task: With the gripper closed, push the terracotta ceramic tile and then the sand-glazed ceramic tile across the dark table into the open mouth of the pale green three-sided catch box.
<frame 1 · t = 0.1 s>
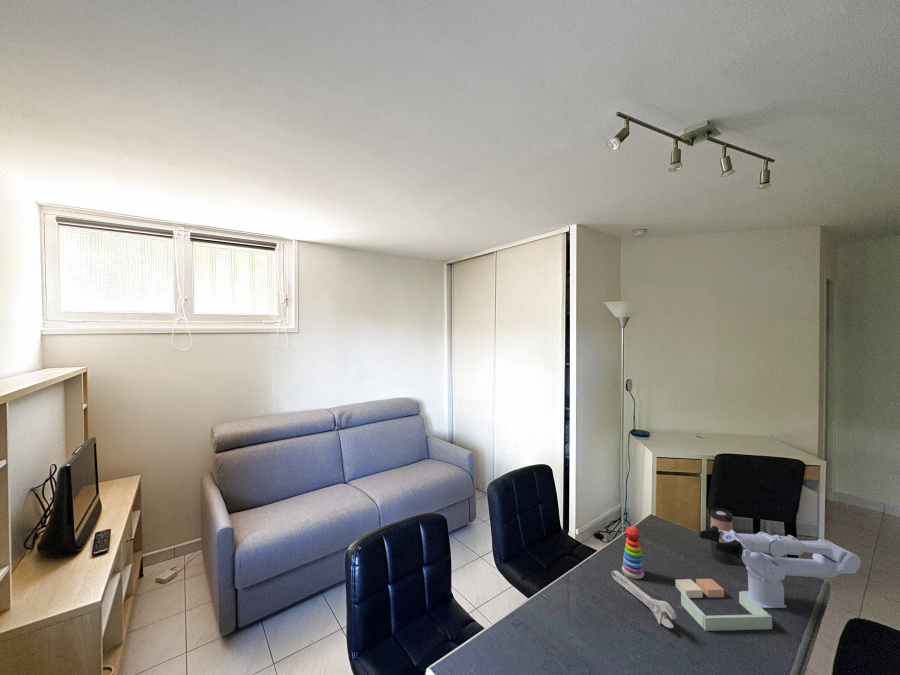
hand: (707, 540, 127), 22 cm above the table, tool horizontal, fingers open, 7 cm apart
travel mug: (722, 559, 151), on the table
catch box: (724, 615, 120), on the table
sand tile: (688, 592, 131), on the table
terracotta tile: (709, 592, 131), on the table
wrench: (640, 604, 126), on the table
stacking toy: (632, 573, 142), on the table
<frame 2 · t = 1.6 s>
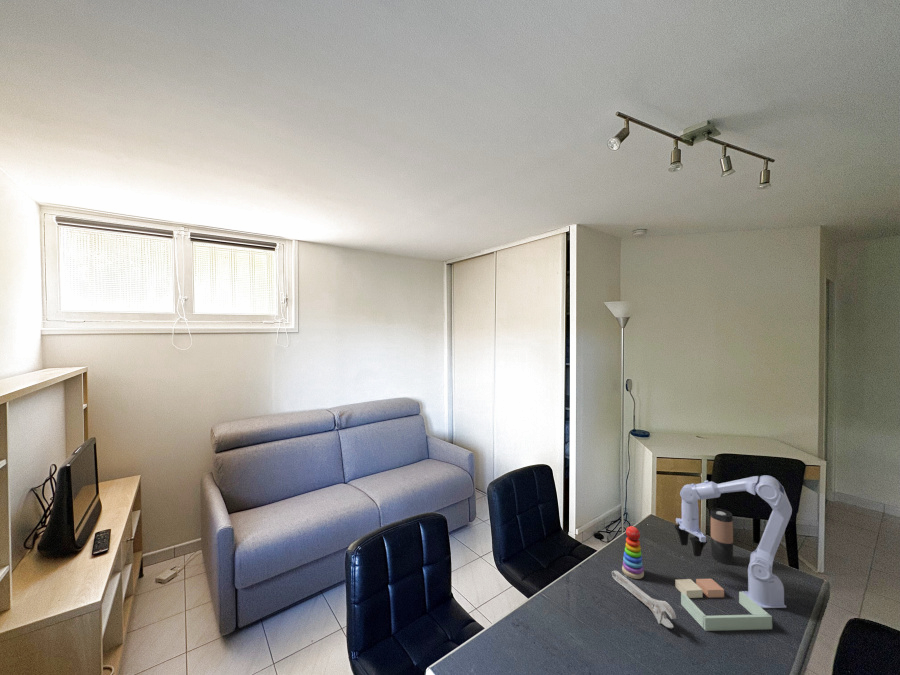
hand: (690, 550, 141), 9 cm above the table, tool pointing down, fingers open, 7 cm apart
nothing on the table moved.
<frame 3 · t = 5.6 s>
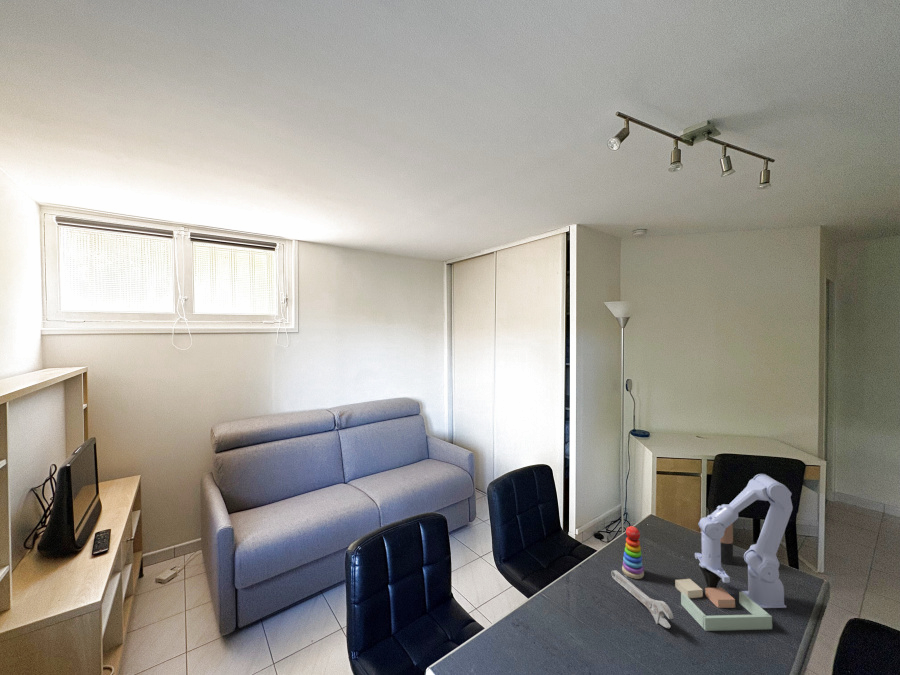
hand: (711, 589, 130), 1 cm above the table, tool pointing down, fingers closed
terracotta tile: (720, 601, 126), on the table
everything else where it was.
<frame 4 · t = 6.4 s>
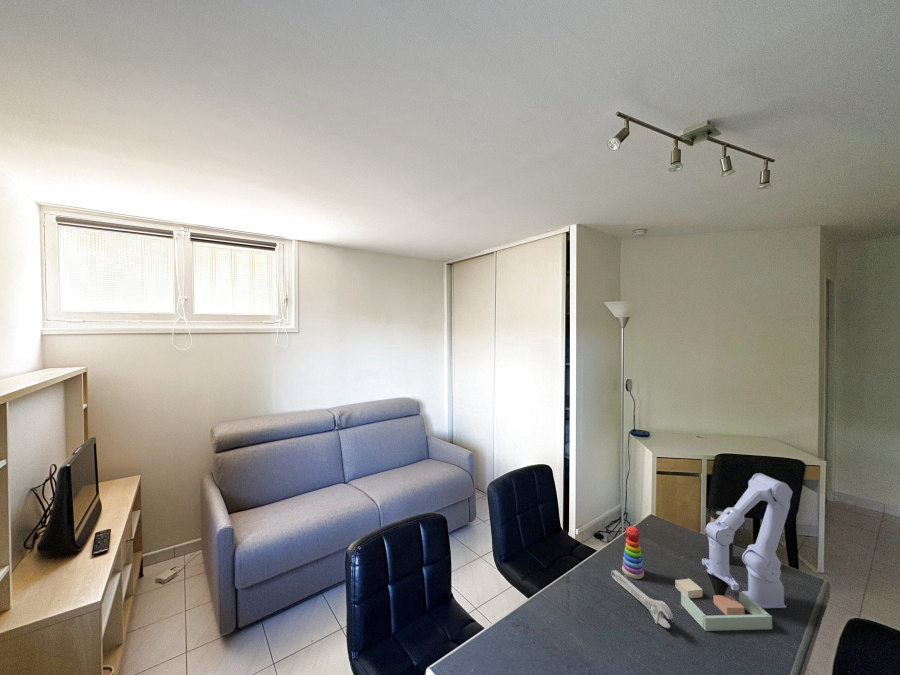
hand: (719, 596, 127), 1 cm above the table, tool pointing down, fingers closed
terracotta tile: (728, 609, 122), on the table, touching gripper
everything else where it was.
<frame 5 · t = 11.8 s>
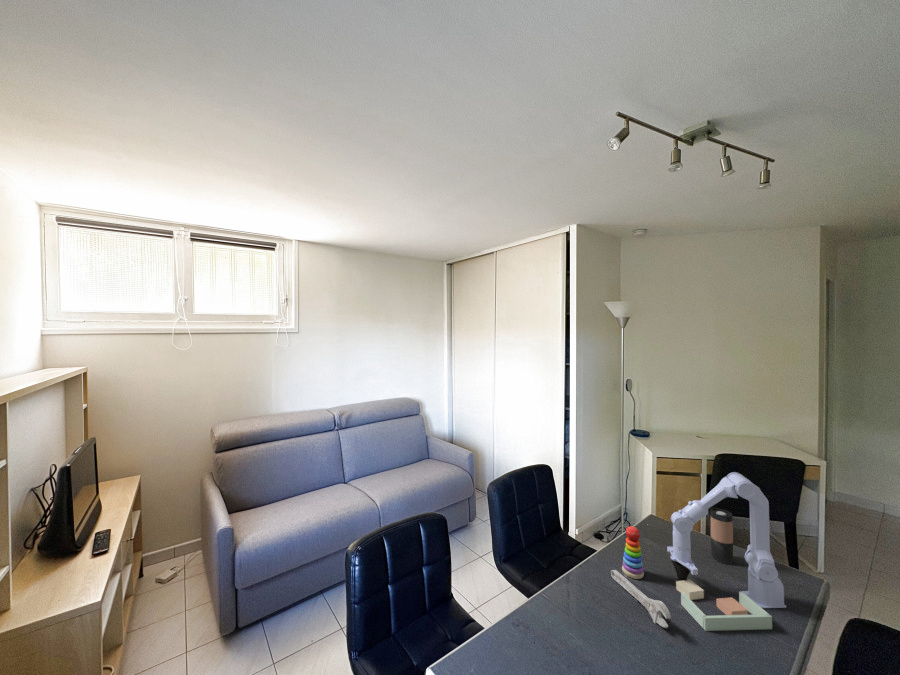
hand: (682, 581, 135), 1 cm above the table, tool pointing down, fingers closed
sand tile: (689, 593, 130), on the table, touching gripper
terracotta tile: (731, 613, 121), on the table
everything else where it was.
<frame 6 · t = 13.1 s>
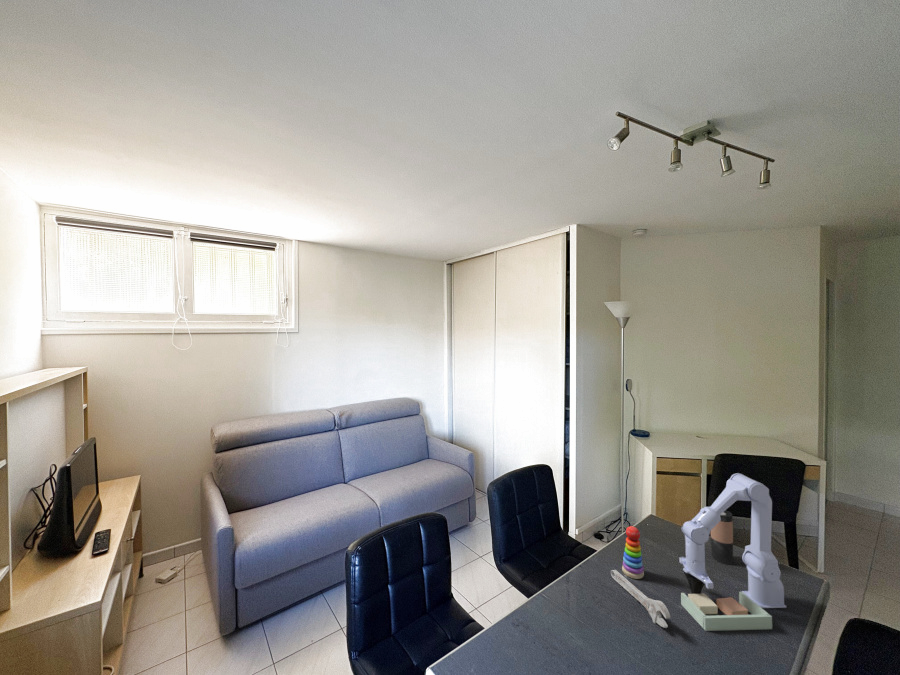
hand: (695, 595, 127), 1 cm above the table, tool pointing down, fingers closed
sand tile: (702, 608, 123), on the table
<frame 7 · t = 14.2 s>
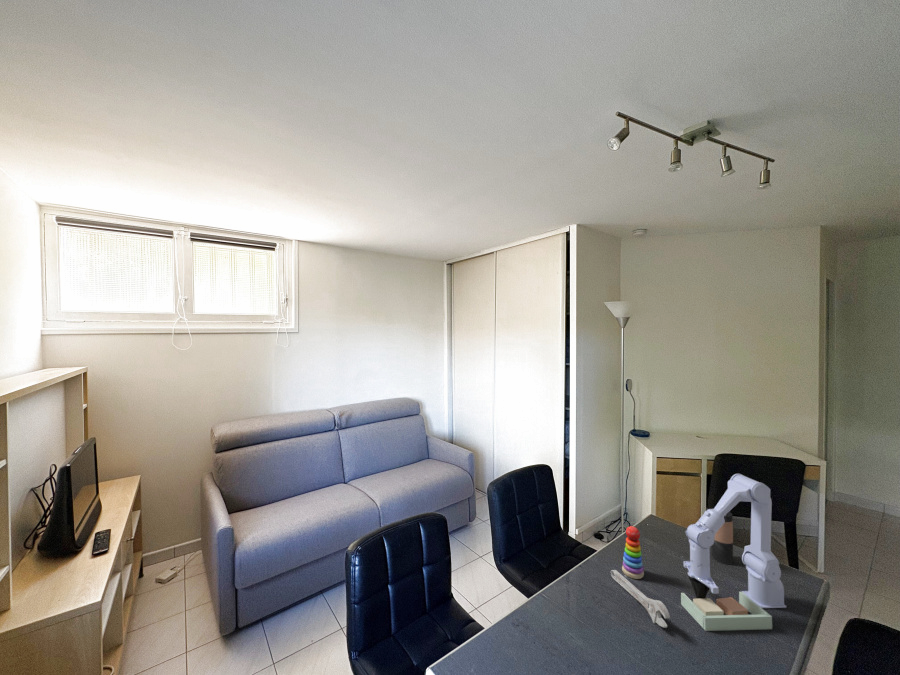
hand: (700, 599, 125), 1 cm above the table, tool pointing down, fingers closed
sand tile: (708, 613, 121), on the table
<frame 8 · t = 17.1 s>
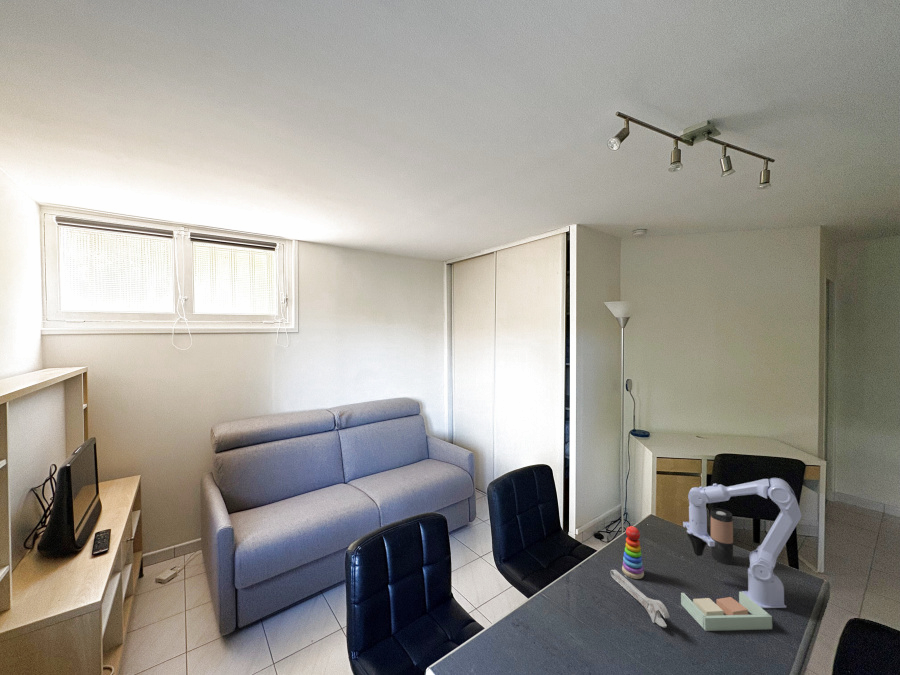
hand: (698, 554, 138), 9 cm above the table, tool pointing down, fingers closed
at the end: terracotta tile inside the target area (4.4 cm from its centre), on the table; sand tile inside the target area (4.8 cm from its centre), on the table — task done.
